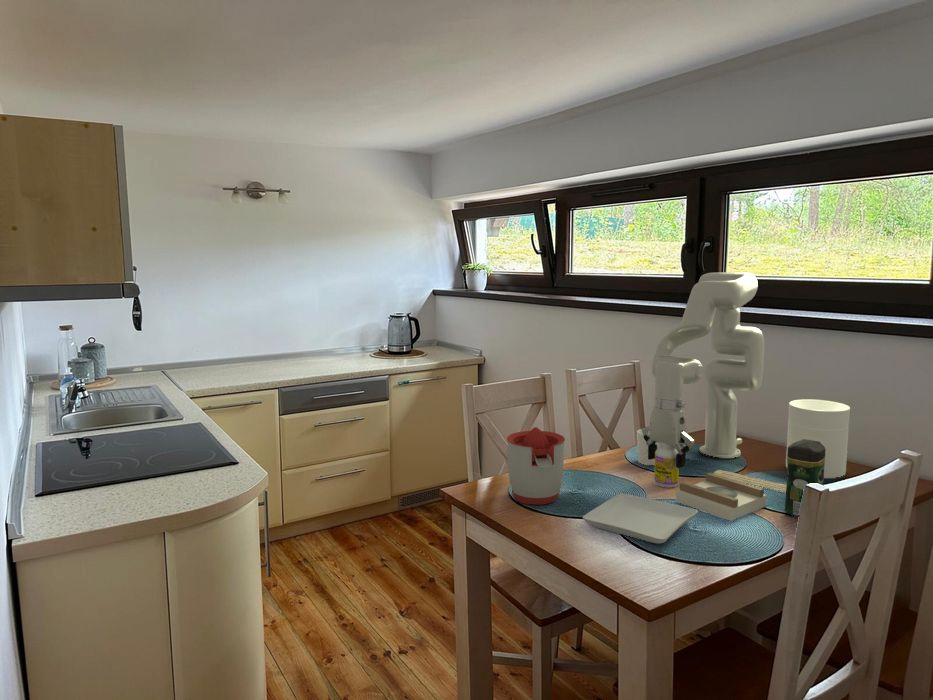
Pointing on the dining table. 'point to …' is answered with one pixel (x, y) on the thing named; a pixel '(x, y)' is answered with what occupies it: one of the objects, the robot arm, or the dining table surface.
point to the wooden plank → (751, 480)
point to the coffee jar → (802, 471)
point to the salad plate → (639, 517)
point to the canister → (821, 430)
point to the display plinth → (722, 497)
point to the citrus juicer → (535, 465)
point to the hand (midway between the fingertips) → (666, 462)
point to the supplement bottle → (666, 466)
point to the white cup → (644, 449)
